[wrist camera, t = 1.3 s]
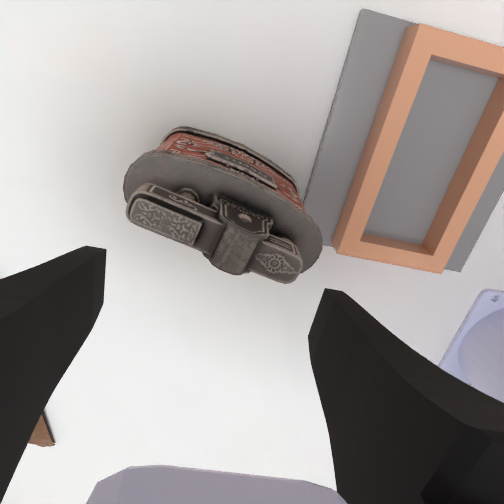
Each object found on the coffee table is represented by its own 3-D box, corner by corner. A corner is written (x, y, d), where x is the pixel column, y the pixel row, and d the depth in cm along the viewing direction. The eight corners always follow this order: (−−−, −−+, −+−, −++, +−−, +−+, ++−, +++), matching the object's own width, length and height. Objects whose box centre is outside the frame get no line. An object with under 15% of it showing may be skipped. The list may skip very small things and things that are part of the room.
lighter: (307, 175, 21) (358, 251, 12) (280, 225, 22) (308, 328, 13) (174, 111, 19) (116, 144, 10) (153, 169, 21) (86, 244, 12)
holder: (561, 67, 19) (595, 66, 17) (455, 268, 24) (473, 284, 22) (360, 10, 18) (374, 3, 16) (293, 236, 23) (298, 249, 21)
